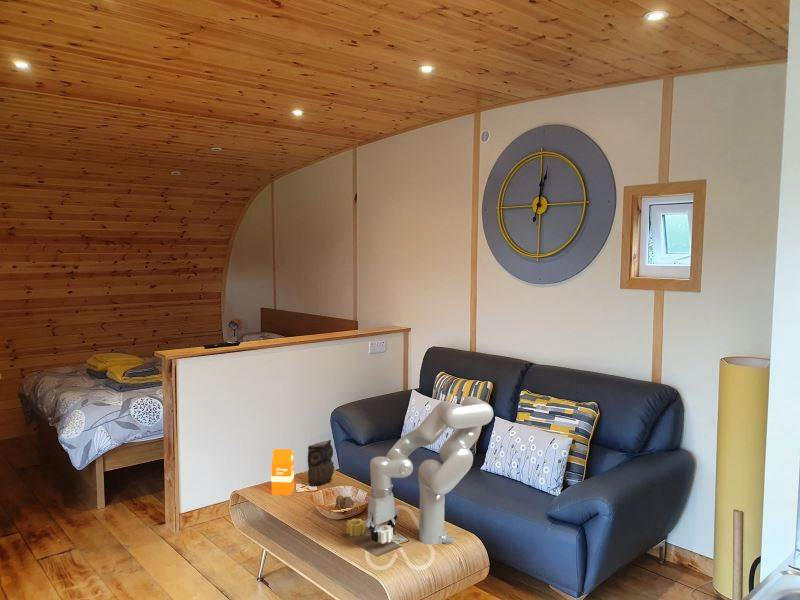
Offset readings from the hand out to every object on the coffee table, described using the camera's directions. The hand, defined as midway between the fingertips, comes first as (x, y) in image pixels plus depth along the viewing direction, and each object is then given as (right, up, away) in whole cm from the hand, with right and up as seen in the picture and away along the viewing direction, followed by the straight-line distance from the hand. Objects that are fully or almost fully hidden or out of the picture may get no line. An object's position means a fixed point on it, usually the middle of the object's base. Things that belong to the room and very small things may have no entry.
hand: (383, 537), depth 228 cm
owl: (-33, 0, +68) cm, 76 cm away
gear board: (-5, -4, +5) cm, 9 cm away
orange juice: (-48, 0, +55) cm, 73 cm away
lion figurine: (-18, -3, +32) cm, 37 cm away
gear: (-11, -2, +11) cm, 16 cm away
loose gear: (0, -1, 0) cm, 1 cm away
